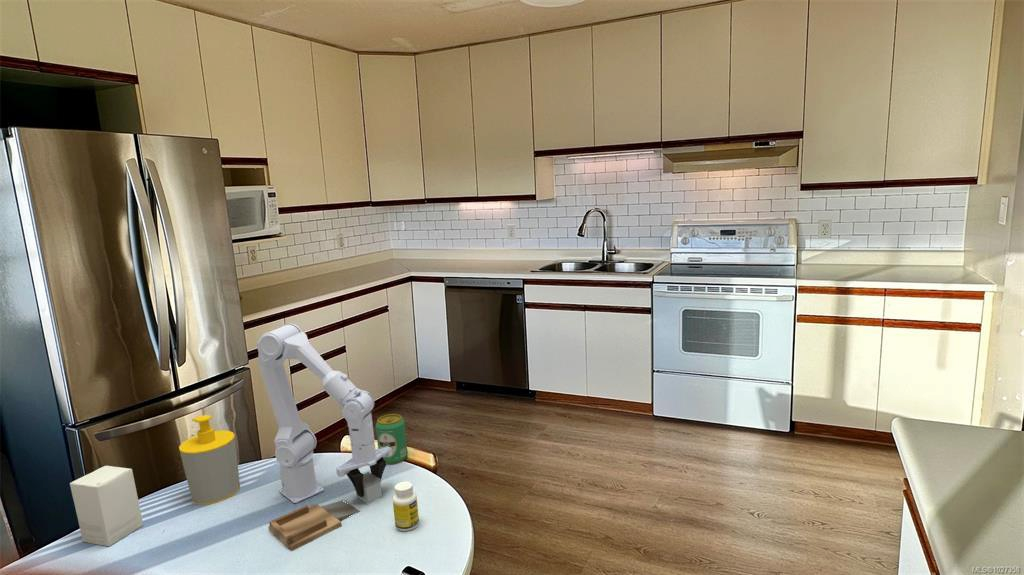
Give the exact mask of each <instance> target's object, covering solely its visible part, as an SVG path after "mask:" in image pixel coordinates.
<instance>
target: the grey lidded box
mask: <svg viewBox="0 0 1024 575" xmlns="http://www.w3.org/2000/svg"><path fill="white" fill-rule="evenodd" d="M363 474H364V475H363V490H364V497H360V496H358V495H357V493H356V492H355V494H356V495H355V496H356V497H357V498H358V499H359V498H360V499H359V500H361V501H363V502H364V503H365V504H368V505H369V504H372V503H373V501H374V502H376V501H378V500H380V499H381V497H382V498H383V495H382V478H381V479H380V478H378V477H376V476H375V475H373V474H371V472H369V471H367V472H366V473H363ZM380 481H381V483H380ZM377 499H378V500H377ZM375 500H376V501H375ZM371 502H372V503H371Z"/></svg>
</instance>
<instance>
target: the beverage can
mask: <svg viewBox="0 0 1024 575" xmlns="http://www.w3.org/2000/svg"><path fill="white" fill-rule="evenodd" d="M375 433H376V441H377V449H380V448H384V447H386V446H388V447H390V448H391V449H392V455H391V456H386V457H384V458H383V460H385V461H386V463H387V464H386V465H394V464H398V462H399V463H402V462H403V461H404V460H406V458H407V456H408V445H407V436H406V435H407V434H406V425H405V420H404V418H403V417H402V415H400V414H398V413H397V414H396V413H390V414H385V415H382V416H380V417H378V418H377V420H376V423H375Z"/></svg>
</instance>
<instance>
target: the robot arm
mask: <svg viewBox="0 0 1024 575" xmlns="http://www.w3.org/2000/svg"><path fill="white" fill-rule="evenodd" d="M255 346H256V348H257V352H258V357H257V365H258V368H259V372H260V374H261V377H262V380H263V384H264V387H265V390H266V393H267V396H268V400H269V403H270V406H271V409H272V413H273V416H274V418H275V422H276V425H277V427H278V431H277V433H276V435H275V438H274V441H273V442H274V447H275V451H274V456H275V457H274V458H275V460H276V461H277V463H278V464H279V474H280V481H281V488H279V490H278V492H279V493H280V494H281V495H283V496H284V497H285V498H287V499H288V500H289V501H290V502H291V503H293V504H297V503H300V502H301V501H303V500H306V499H308V498H311V497H312V496H315V495H317V494H320V493H322V492H323V491H324V488H323V487H322V486H320V485H319V484H317V477H316V470H315V463H314V456H313V455H314V449H316V447H317V437H316V436H315V434H314V433H313V431H312V430H311V428H310V425H309V424H308V423H306V422H304V421H302V420H301V417H300V415H299V411H298V407H297V405H296V404H297V403H296V401H295V398H294V395H293V392H292V391H293V390H292V388H291V385H290V381H289V378H288V375H287V372H286V369H285V365H284V363H285V362H286V360H298V361H300V363H301V364H303V365H304V366H305V367H306V368H307V369H308V370H310V372H312V374H314V375H315V376H316V377H318V379H320V380H321V381H322V384H321V385H322V386H321V387H322V390H324V391H325V392H326V393H327V394H328V395H329V397H331V399H333V400H334V401H335V402H336V403H337V404H338V405H339V406H340V408H342V410H341V415H342V416H343V418H344V419H345V421H346V422H347V427H348V433H349V441H350V449H351V455H352V456H351V457H352V458H350V459H349V460H347V461H345V462H344V463H342V464H341V465H339V466H338V467H336V468H335V469H336V476H337V477H339V478H344V477H345V476H347V477H348V479H349V480H350V482H351V483H352V485H353V487H354V489H355V494H356V493H357V495H358V496H360V497H364V490H363V475H364V474H365V473H363V472H361V470H360V468H363V467H367V466H368V467H369V469H370V473H371V474H373V475H375V476H376V477H378V478H380V479H381V481H380V483H381V484H382V478H383V474H384V471H385V468H386V467H387V464H386V461H385V460H383V458H384V457H386V456H391V455H392V449H391V448H390V447H388V446H386V447H384V448H380V449H378V448H376V442H375V433H374V426H373V425H374V424H373V416H372V410H373V409H374V407H375V400H374V397H373V396H372V395H371V393H370V392H369V391H367V390H365V389H364V390H363V389H360V388H358V387H357V386H356V385H355V384H354V383H353V381H351V380H350V379H349V378H348V377H349V376H348V375H347V374H346V373H344V372H342V371H339V370H333V369H332V367H330V365H329V364H328V363H327V361H325V360H324V358H323V356H321V355H320V353H318V351H316V349H315V348H314V347H313V346H312V345H311V343H310V342H309V338H308V335H307V333H305V332H304V331H302V329H301V328H300V327H299V326H298V325H297V324H294V323H285V324H284V325H282V326H280V327H279V328H276V329H273V330H271V331H267V332H265V333H263V334H262V335H261V336H260V337H259V339H258V340H257V342H256V344H255ZM357 495H356V496H357Z"/></svg>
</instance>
